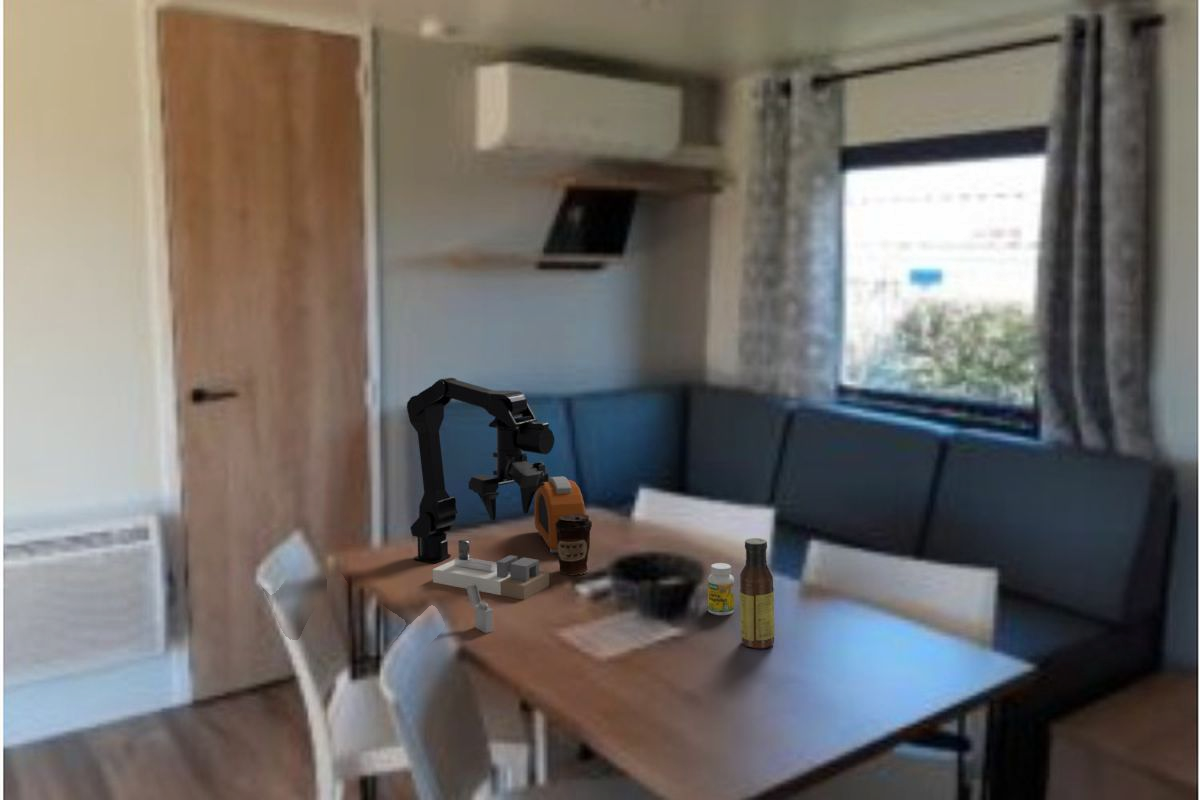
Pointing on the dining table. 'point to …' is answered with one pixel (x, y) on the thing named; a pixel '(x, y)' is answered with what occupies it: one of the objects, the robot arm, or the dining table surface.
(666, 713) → the dining table surface
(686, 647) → the dining table surface
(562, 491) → the orange tape measure
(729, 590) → the supplement bottle
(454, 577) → the door lock board
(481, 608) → the lighter
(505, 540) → the dining table surface
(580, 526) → the coffee cup
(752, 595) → the sauce bottle
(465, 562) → the bolt
